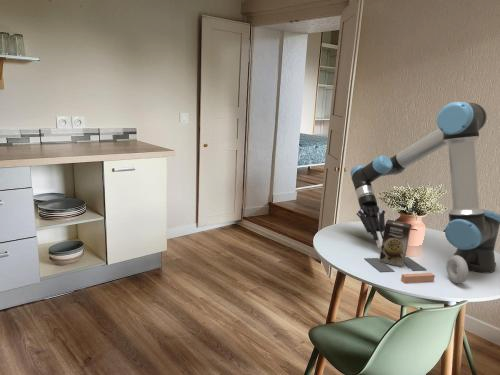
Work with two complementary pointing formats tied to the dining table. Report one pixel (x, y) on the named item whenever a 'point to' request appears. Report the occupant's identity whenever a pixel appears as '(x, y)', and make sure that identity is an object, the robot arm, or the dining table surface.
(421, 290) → the dining table surface
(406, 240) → the coffee box
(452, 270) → the donut
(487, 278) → the dining table surface
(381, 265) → the pads
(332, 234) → the dining table surface
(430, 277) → the tan rectangular bar
